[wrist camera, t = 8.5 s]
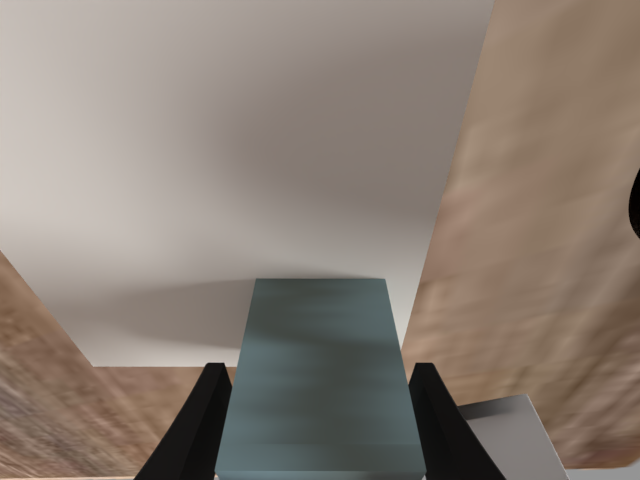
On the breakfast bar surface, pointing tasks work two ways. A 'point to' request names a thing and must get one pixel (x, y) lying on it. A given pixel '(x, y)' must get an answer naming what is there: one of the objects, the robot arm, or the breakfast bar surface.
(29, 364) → the breakfast bar surface
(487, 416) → the milk carton
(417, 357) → the breakfast bar surface
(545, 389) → the breakfast bar surface
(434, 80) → the base board
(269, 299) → the teal brushed cube
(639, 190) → the olive oil
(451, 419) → the robot arm
